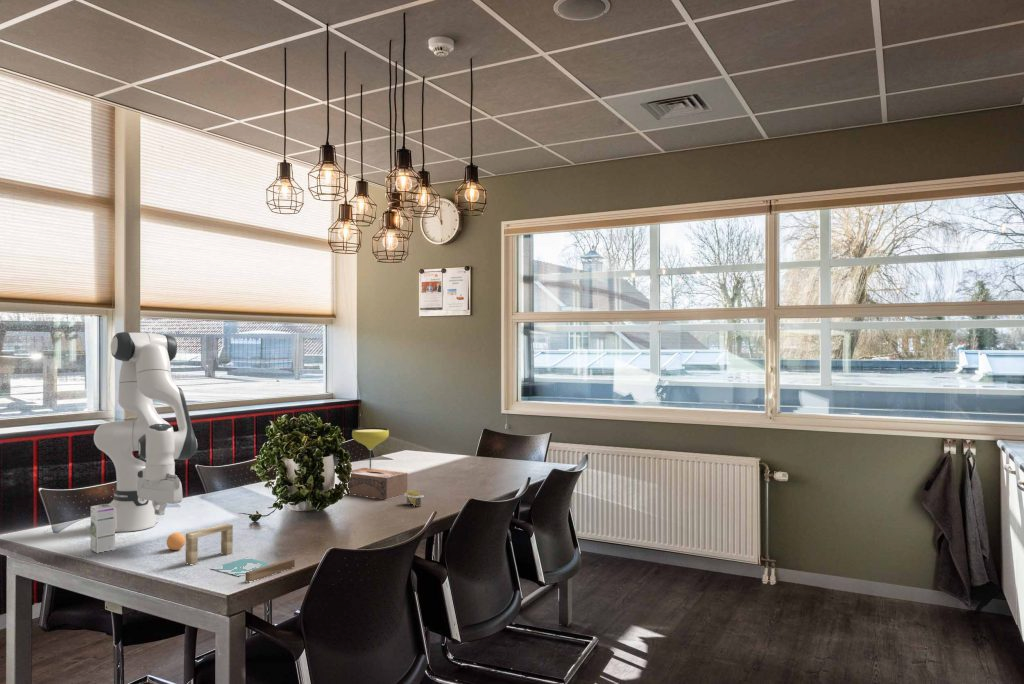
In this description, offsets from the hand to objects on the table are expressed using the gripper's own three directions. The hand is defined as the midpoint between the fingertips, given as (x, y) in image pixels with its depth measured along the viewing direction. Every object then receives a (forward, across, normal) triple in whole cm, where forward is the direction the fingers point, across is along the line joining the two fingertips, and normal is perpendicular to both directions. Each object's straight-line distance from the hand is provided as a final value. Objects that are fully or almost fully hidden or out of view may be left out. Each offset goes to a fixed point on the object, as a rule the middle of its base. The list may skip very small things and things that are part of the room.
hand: (159, 514), depth 235 cm
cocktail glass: (+8, +21, -126) cm, 128 cm away
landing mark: (+12, -42, 0) cm, 44 cm away
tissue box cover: (+9, -4, -101) cm, 102 cm away
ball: (+8, -9, 0) cm, 12 cm away
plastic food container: (+10, -33, -92) cm, 99 cm away
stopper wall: (+12, -54, 0) cm, 56 cm away
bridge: (+11, -26, 0) cm, 28 cm away
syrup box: (+11, +11, +12) cm, 20 cm away
